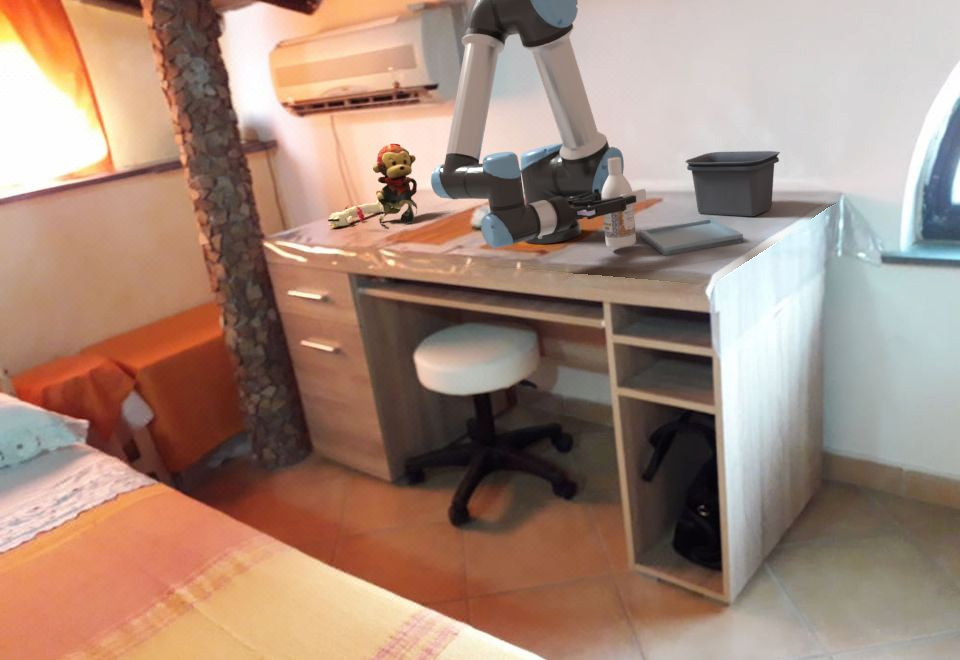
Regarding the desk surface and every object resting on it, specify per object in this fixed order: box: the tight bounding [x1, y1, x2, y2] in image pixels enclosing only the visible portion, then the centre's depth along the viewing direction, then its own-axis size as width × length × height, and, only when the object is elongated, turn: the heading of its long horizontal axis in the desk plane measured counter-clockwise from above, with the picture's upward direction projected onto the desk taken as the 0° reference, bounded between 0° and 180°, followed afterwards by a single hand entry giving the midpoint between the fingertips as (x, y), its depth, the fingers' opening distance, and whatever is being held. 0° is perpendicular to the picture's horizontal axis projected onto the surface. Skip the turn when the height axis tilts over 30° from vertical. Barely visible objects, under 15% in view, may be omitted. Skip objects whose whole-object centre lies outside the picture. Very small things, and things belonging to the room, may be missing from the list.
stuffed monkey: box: [372, 143, 418, 224], centre depth 250 cm, size 15×17×25 cm
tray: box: [640, 217, 744, 256], centre depth 182 cm, size 18×18×2 cm
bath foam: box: [602, 157, 637, 249], centre depth 178 cm, size 7×7×20 cm
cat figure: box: [327, 190, 384, 229], centre depth 264 cm, size 10×9×25 cm
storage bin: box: [685, 150, 781, 217], centre depth 198 cm, size 21×16×14 cm
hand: (634, 193), depth 180 cm, fingers closed on bath foam, 7 cm apart
